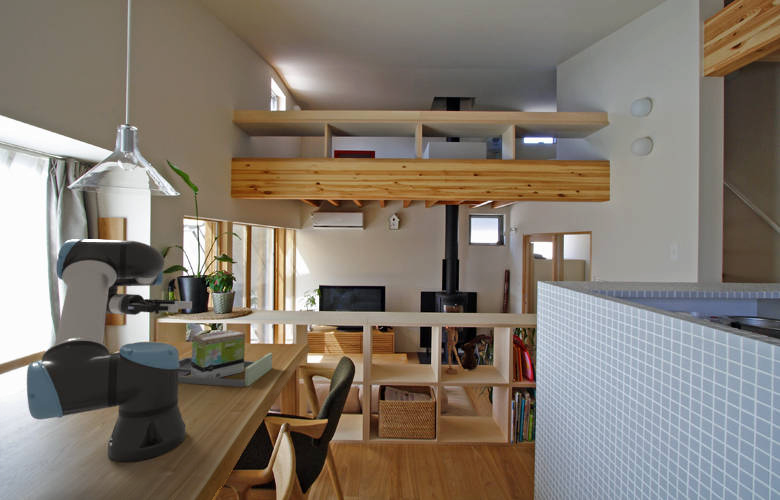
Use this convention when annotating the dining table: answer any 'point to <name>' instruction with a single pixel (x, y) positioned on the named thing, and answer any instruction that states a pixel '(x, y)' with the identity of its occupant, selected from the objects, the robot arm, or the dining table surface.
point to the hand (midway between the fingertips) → (184, 306)
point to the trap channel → (186, 370)
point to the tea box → (218, 354)
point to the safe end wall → (258, 369)
